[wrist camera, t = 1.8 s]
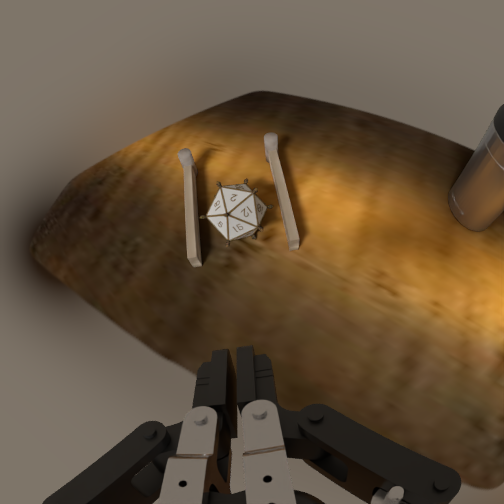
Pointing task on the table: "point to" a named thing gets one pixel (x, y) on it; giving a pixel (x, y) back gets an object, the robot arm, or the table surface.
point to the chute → (192, 207)
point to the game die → (236, 211)
